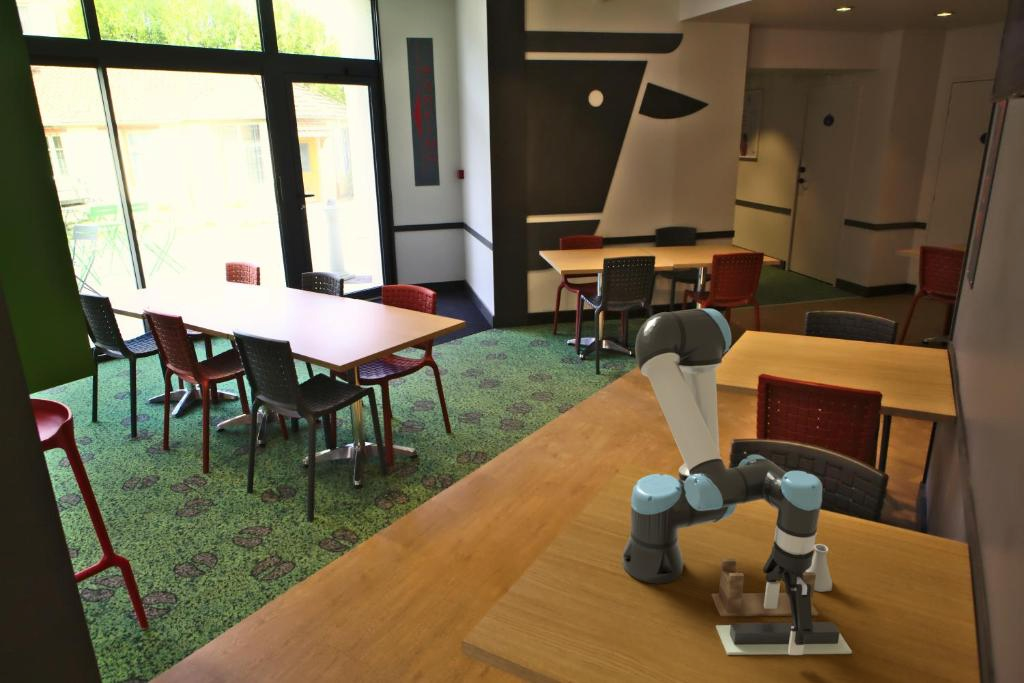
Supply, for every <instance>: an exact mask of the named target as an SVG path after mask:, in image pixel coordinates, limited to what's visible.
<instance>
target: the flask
mask: <svg viewBox="0 0 1024 683" xmlns="http://www.w3.org/2000/svg"><path fill="white" fill-rule="evenodd" d="M813 550H814V552H813V559H812V565H811V567H810V568H809V569H807V570H806V572H814V573H815V574H816V579H815V586H814V592H815V591H816V592H820V593H821V592H831V591H832V589H833V581H832V577H831V574H830V570H829V566H828V563H827V562H828V561H827V555H828V553H829V547H828V546H826V545H825V544H823V543H817V544H814V549H813Z"/></svg>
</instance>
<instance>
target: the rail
mask: <svg viewBox="0 0 1024 683" xmlns="http://www.w3.org/2000/svg"><path fill="white" fill-rule="evenodd" d="M730 625H731V626H730V636H731V639H732V641H733V643H734V645H756V644H789V640H790V633H791V629H790V628H791V626H794V624H793V621H792V622H730ZM812 625H813V635H805V642H804V644H838V640H839V633H840V631H839V629H838V627H837V625H836V624H835V623H834V622H833V621H818V622H815V621H812ZM840 634H841V633H840Z"/></svg>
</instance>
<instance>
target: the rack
mask: <svg viewBox="0 0 1024 683" xmlns="http://www.w3.org/2000/svg"><path fill="white" fill-rule="evenodd" d="M720 565H721V566H720V567H721V568H720V577H719V578H720V579H719V588H718V593H711V597H712V599H713V601H714V602H713V603H714V604H715V607H716V609H717V611H718V614H719V616H720V617H776V616H777V617H780V616H781V617H785V616H786V617H787V616H789V617H790V616H791V617H792V611H791V605H790V599H789V595H787V594H786V592H779V597H778V604H777V609H765V608H764V600H765V592H753V593H752V592H747V593H745V592H743V590H744V589H743V588H744V580H745V578H744V577H745V575H744V573H743V572H737V570H736V569H737V560H736V558H722V559H721V564H720ZM803 576H804V581H803V582H804V583H805V584H810V586H811V594H810V599H811V612H812V616H819V612H818V611H817V609H816V607H815V606H814V604H813V599H814V592H815V590H814V586H815V579H816V574H815V573H814V572H806V571H805V572H804V573H803ZM790 590H791V591H795V588H790Z"/></svg>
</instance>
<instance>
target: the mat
mask: <svg viewBox="0 0 1024 683" xmlns="http://www.w3.org/2000/svg"><path fill="white" fill-rule="evenodd" d="M730 626H731V624H729V625H728V624H727V625H726V624H725V625H724V624H723V625H722V624H721V625H719V624H716V625H715V629H716V630H717V631H716V632H717V634H718V636H719V638H720V641H721V643H722V646H723V648H724V650H725V653H726V655H727V656H728V655H732V656H733V655H734V656H735V655H737V656H740V655H741V656H742V655H744V656H745V655H752V656H753V655H789V654H788V647H789V644H756V645H734V643H733V641H732V639H731V636H730ZM838 654H839V655H840V654H841V655H850V654H853V650H852V649H851V648H850V647H849V645H848V643H847V642H846V641H845V639H844V637H843V636H842V634H841V633H839V640H838V644H804V648H803V655H838Z"/></svg>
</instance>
